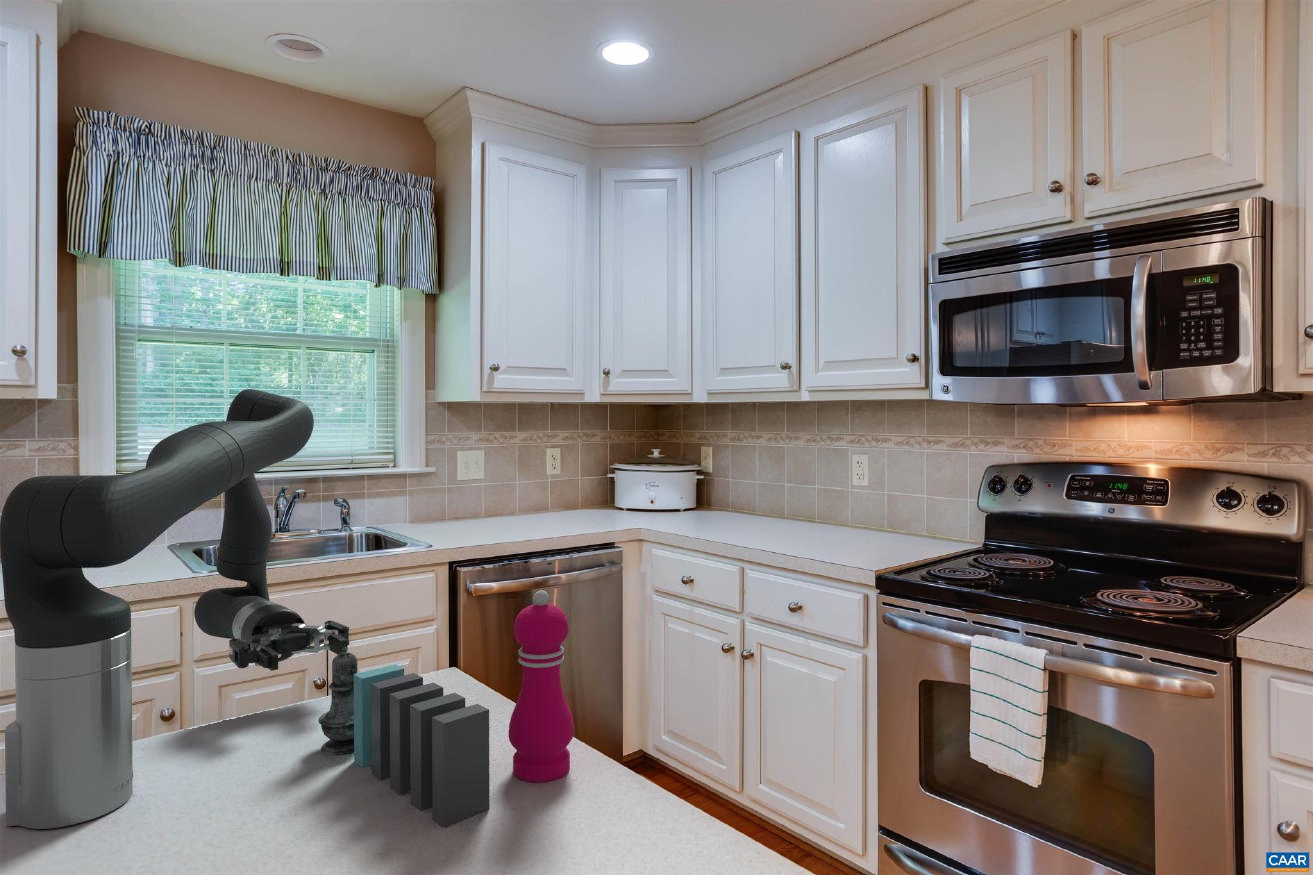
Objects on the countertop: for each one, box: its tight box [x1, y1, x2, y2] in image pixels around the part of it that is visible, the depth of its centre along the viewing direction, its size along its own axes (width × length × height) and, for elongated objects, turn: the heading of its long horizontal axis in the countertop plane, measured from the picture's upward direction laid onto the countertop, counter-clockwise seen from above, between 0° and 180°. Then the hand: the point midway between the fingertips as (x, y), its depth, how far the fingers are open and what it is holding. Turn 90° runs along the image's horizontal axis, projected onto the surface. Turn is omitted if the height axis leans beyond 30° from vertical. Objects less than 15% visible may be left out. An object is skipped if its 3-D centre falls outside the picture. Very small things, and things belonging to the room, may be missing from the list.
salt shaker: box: [317, 646, 359, 756], centre depth 90 cm, size 6×6×12 cm
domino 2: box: [371, 672, 424, 782], centre depth 83 cm, size 2×5×10 cm, turn 135°
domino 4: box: [410, 692, 466, 812], centre depth 77 cm, size 2×5×10 cm, turn 135°
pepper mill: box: [508, 590, 575, 783], centre depth 83 cm, size 7×7×20 cm
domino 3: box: [389, 682, 444, 796], centre depth 80 cm, size 2×5×10 cm, turn 135°
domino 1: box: [353, 664, 405, 768], centre depth 86 cm, size 2×5×10 cm, turn 135°
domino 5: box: [432, 703, 491, 829], centre depth 74 cm, size 2×5×10 cm, turn 135°
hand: (310, 654), depth 98 cm, fingers open, 8 cm apart
